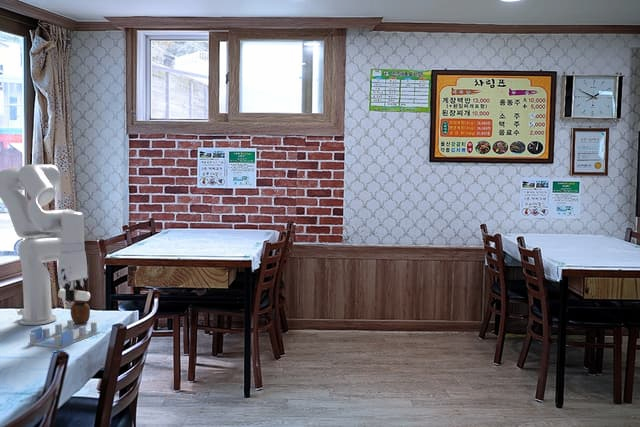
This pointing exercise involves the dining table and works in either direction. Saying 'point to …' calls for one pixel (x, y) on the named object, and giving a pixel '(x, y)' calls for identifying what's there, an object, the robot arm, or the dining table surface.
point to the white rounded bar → (75, 295)
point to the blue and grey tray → (61, 335)
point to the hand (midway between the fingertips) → (74, 299)
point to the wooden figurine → (80, 311)
